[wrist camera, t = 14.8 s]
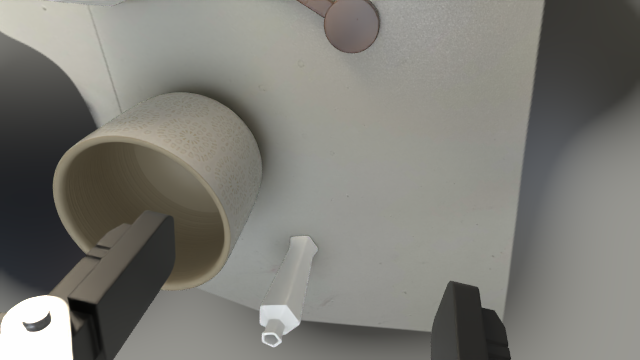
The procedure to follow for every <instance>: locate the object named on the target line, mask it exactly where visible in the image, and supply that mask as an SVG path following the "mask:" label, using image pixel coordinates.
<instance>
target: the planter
mask: <svg viewBox="0 0 640 360" xmlns="http://www.w3.org/2000/svg"><path fill="white" fill-rule="evenodd" d="M261 179H262V161H261V155H260V151H259V148H258V145H257V143H256V140H255V138H254V136H253V135H252V133H251V131H250V130H249V128H248V127H247V126H246V124H245V123H244V122H243V121H242V120H241V119H240V118H239V117H238V116H237V115H236V114H235V113H234V112H233V111H232V110H230V109H229V108H228V107H226V106H225V105H223V104H221V103H219V102H218V101H216V100H213V99H211V98H209V97H206V96H203V95H199V94H193V93H185V92H177V93H167V94H162V95H159V96H155V97H153V98H150V99H148V100H145V101H143V102H141V103H139V104H137V105H135V106H134V107H132V108H130V109H128V110H127V111H125V112H123V113H122V114H120V115H119V116H117V117H115V118H114V119H112V120H111V121H110V122H108V123H106V124H105V125H103V126H102V127H100V128H99V129H97V130H96V131H94V132H93V133H91V134H89V135H88V136H87V137H85V138H84V139H82V140H81V141H79V142H78V143H77V144H75V145H74V146H73V147H72V148H70V149H69V150H68V151H67V152H66V153H65V154H64V156H63V157H62V158H61V160H60V161H59V163H58V166H57V168H56V171H55V175H54V180H53V194H54V201H55V205H56V208H57V211H58V214H59V216H60V219H61V221H62V223H63V225H64V226H65V228H66V230H67V231H68V233H69V234H70V236H71V237H72V238H73V240H74V241H75V242H76V243H77V245H78V246H79V247H80V248H81V249H82V250H83V251H84V252H85V253H86V254H87V253H88V252H89V251H90V250H91V249H92V248H93V247H95V246H96V244H97V243H98V242H99V240H100V239H101V238H102V237H103V236H104V235H105V234H106V233H107V232H109V231H111V230H112V229H114V228H116V227H118V226H120V225H122V224H123V223H126V224H131V225H132V224H133V223H134V222H135V221H136V219H137V218H138V217H139V216H140V215H141V214H142V213H143V212H144V211H146V210H149V211H154V212H158V213H162V214H167V215H171V216H172V217H173V218H174V229H175V252H176V257H175V263H174V267H173V270H172V272H171V274H170V276H169V278H168V279H167V280H166V282H165V283H164V285H163V286H162V288H161V289H160V290H168V291H169V290H170V291H175V290H185V289H190V288H194V287H197V286H199V285H202V284H204V283H206V282H208V281H209V280H211V279H212V278H213V277H215V276H216V275H217V274H218V273H219V272H220V271H221V269H222V268H223V266H224V265H225V263H226V262H227V260H228V258H229V256H230V254H231V252H232V251H233V248H234V246H235V244H236V242H237V240H238V238H239V236H240V234H241V232H242V230H243V228H244V226H245V224H246V222H247V220H248V218H249V215H250V213H251V211H252V209H253V206H254V204H255V201H256V199H257V196H258V192H259V188H260V185H261Z"/></svg>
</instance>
